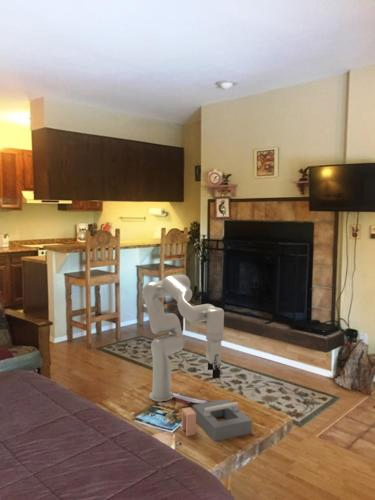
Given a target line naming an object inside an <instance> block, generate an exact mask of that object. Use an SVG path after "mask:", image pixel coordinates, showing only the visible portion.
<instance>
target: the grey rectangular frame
mask: <svg viewBox="0 0 375 500" xmlns="http://www.w3.org/2000/svg"><path fill="white" fill-rule="evenodd" d="M192 409H193V411H194V412H195V413H196V424H198V425H199V426H200V427H201V429H202V430H204V432H205V433H206V434H207V435H208V436H209V438H210V439H212V441H213V442H219V441H223V440H227V439H232V438H236V437H241V436H245V435H249V434H250V435H251V434H252V426H253V425H252V419H250V417H249V416H248V415H247V414H245V413H244V412H243V411H241V410H240V409H239V402H238V401H234V402H231V401H230V400H229V399H228V398H226V399H221V400H220V399H219V400H214V401H210V402H209V401H208V402H204V403H203V402H202V403H199V404H198V403H196V404H193V405H192ZM221 417H224V418H225V420H221V421H219V420H218V419H217V418H221Z"/></svg>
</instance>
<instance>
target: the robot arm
mask: <svg viewBox="0 0 375 500" xmlns="http://www.w3.org/2000/svg"><path fill="white" fill-rule="evenodd" d="M192 296H193V291H192V289H191V280H190V278H189V277H188V275H186V274H172V275H171V274H170V275H167V276H166V277H165V278H163V279H162V280H154V281H150V282H148V283H145V285H144V287H143V289H142V298H143V301H144V304H145V306H146V309H147V315H148V320H149V326H150V330H151V333H152V334H154V335H161V334H166V333H168V334H166V335H162V336H158V337H156V338H153V340H152V341H151V343H150V349H151V354H152V388H151V390H152V391H150V392H149V394H148V395H149V396H148V397H149V399H150V400H151V401H154V402H158V403H159V402H160V403H163V402H162V401H166V402H168V401H167V400H169V401H171V400H173V399H174V395H175V394H174V392H172V362H171V359H170V357H169V356H168V355H171V354H175V353H179V352H181V351H182V350H183V349H184V347H185V346H184V343H185V342H184V337H183V331H182V326H181V321H180V319H179V317H178V316H177V314H176V313H172V312H169V313H166V311H165V307H164V305H163V303H162V301H161V300H160V299H159V298H165V297H171V298H173V299H174V300H175V301H176V302H177V309H178V312H179V313H180V315H181V316H182V318H184V319H185V320H186V321H187V322H189V323H191V324H197V323H201V322H206V325H205V326H206V329H205V330H206V333H205V334H206V335H205V340H206V350H205V352H206V353H205V358H206V360H207V371H211V370H212V376H211V377H212V379H221V378H220V377H221V363H222V341H224V327H225V326H224V325H225V323H224V321H225V310H224V309H223V308H221V307H217V306H215V305H213V304H210V303H204V304H197V305H191V304H190V303H189V302H190V301H191V299H192ZM172 398H173V399H172ZM170 399H171V400H170Z"/></svg>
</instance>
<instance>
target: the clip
mask: <svg viewBox="0 0 375 500" xmlns="http://www.w3.org/2000/svg"><path fill="white" fill-rule="evenodd" d="M180 429H181V431H185V436H186V437H189V436H194V435H196V434H197V433H196V432H197V431H196V429H197V422H196V413H195V412H194V411H193V407H191V406H189V407H184V408H183V407H182V408H181V428H180Z"/></svg>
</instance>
